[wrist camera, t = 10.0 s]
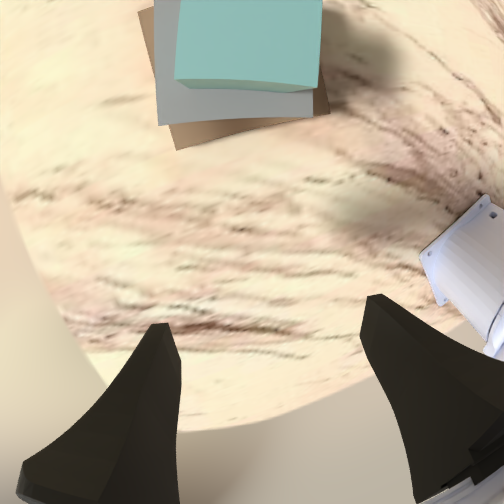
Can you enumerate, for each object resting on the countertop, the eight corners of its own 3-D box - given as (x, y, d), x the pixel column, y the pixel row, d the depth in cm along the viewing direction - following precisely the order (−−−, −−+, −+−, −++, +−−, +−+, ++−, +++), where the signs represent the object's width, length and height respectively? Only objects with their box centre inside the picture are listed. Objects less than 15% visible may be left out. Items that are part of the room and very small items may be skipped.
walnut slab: (285, -10, 13) (294, -22, 11) (318, 112, 17) (330, 113, 15) (146, 21, 13) (137, 12, 11) (181, 145, 17) (176, 150, 16)
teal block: (290, 11, 11) (322, -26, 6) (284, 93, 13) (317, 87, 8) (196, 5, 10) (186, -38, 6) (189, 88, 12) (174, 79, 8)
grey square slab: (296, -2, 12) (307, -15, 10) (301, 115, 15) (313, 117, 13) (161, 2, 11) (154, -11, 9) (166, 123, 15) (158, 125, 13)
